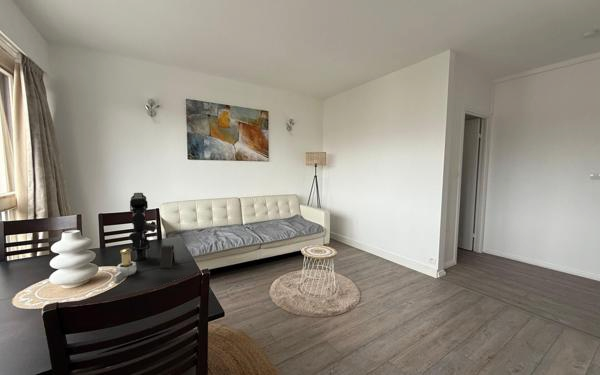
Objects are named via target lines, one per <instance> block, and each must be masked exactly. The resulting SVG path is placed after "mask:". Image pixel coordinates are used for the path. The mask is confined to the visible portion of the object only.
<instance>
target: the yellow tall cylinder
mask: <svg viewBox="0 0 600 375" xmlns="http://www.w3.org/2000/svg"><path fill="white" fill-rule="evenodd" d="M119 252H120V255H121V264H122V267H129V266H131V262H132V261H131V252H132V249H131V248H124V249H121V250H120V251H119Z"/></svg>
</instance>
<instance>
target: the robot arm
mask: <svg viewBox="0 0 600 375" xmlns="http://www.w3.org/2000/svg"><path fill="white" fill-rule="evenodd" d="M148 206H149V204H148V201H147V196H145V195H144V192H135V193H134V192H133V195H132V196H131V197H130V200H129V208H130V209H129V211H130V212H132V216H131V217H132V219H131V220H132V222H131V223H132V225H133V226H132V227H133V229H132V232H131V233H130V234H129V236H128V238H129V240H130V241H131V243H132V252H135V258H134V259H133V260H134V261H133V262H136V261H144V260H147V259H148V257H149V254H147V253H148V252H147V250H149V249H150V248H151V245H150V244H151V243H150V242H151V241H150V239H148V236H147V235H146V234H147V233H148V232H152V233H155V231H156V229H157V225H158V224H156V221H152V222H147V220H146V214H145V213H146V211H147V210H148V209H149V208H148Z"/></svg>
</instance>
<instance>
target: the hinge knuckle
mask: <svg viewBox="0 0 600 375" xmlns="http://www.w3.org/2000/svg"><path fill="white" fill-rule="evenodd" d="M115 269H116V274H115V275H113V282H115V283H117V282H118V281H120V280H121V279H122V278H123V277H128V276H130V275H134V274H135V273H136V272H137V262H136V261H131V266H129V267H122V263H119V264H118V265H117V266H116V268H115Z"/></svg>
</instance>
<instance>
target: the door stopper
mask: <svg viewBox="0 0 600 375" xmlns="http://www.w3.org/2000/svg"><path fill="white" fill-rule="evenodd" d="M160 251H161V252H160V253H161V254H160V261H159V262H160V263H159V264H160V265H159V269H172V267H173V266H174V265H175V264H176V263H177V258H176V254H175V247H174V244H172V245H162V246H161V249H160Z"/></svg>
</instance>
